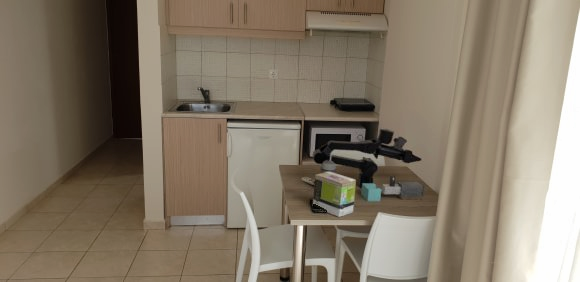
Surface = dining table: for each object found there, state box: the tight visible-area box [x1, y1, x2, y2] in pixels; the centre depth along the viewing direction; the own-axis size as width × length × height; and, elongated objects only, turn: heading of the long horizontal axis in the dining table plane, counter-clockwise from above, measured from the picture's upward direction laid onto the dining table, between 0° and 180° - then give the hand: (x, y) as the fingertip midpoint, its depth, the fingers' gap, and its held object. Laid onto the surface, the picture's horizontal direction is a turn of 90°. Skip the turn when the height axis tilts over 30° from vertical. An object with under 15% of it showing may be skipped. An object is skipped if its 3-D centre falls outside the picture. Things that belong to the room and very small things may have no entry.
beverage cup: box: [320, 151, 337, 173], centre depth 213 cm, size 7×7×20 cm
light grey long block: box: [380, 175, 402, 195], centre depth 213 cm, size 17×4×8 cm, turn 101°
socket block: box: [360, 182, 382, 202], centre depth 211 cm, size 6×9×6 cm, turn 11°
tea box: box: [312, 171, 357, 218], centre depth 192 cm, size 15×10×15 cm, turn 44°
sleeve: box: [396, 181, 425, 201], centre depth 215 cm, size 11×5×7 cm, turn 101°
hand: (417, 158), depth 226 cm, fingers open, 9 cm apart
